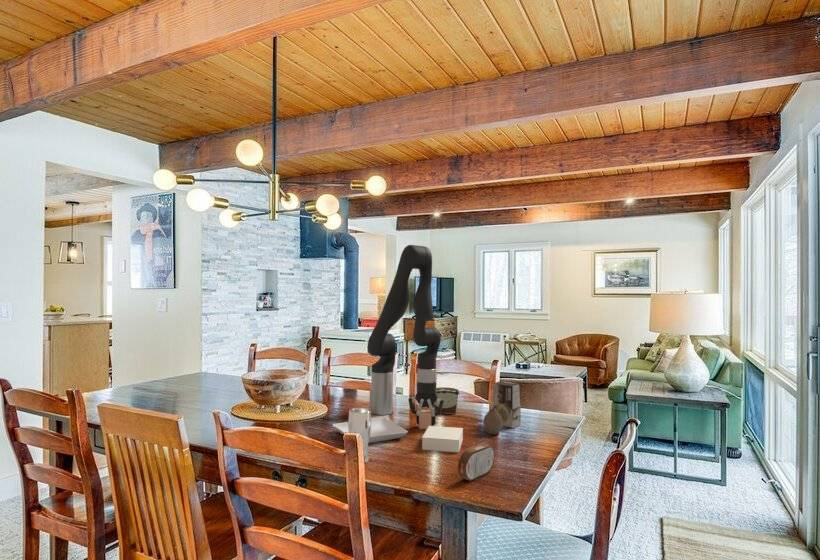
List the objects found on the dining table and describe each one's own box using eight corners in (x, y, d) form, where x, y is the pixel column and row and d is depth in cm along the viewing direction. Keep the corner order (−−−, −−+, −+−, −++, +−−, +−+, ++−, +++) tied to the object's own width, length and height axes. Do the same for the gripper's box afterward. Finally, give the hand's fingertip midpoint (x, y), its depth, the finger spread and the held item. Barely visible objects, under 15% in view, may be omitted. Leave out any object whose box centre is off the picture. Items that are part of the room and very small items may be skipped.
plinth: (422, 449, 160) (422, 437, 160) (428, 437, 174) (428, 425, 174) (458, 452, 158) (459, 440, 158) (462, 439, 172) (462, 428, 172)
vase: (503, 431, 183) (503, 407, 183) (500, 436, 176) (501, 412, 176) (485, 429, 185) (485, 406, 185) (481, 434, 178) (481, 410, 178)
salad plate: (351, 449, 161) (352, 438, 161) (331, 432, 180) (331, 422, 180) (409, 440, 171) (409, 430, 171) (383, 425, 189) (384, 416, 189)
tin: (487, 468, 144) (487, 439, 145) (496, 471, 142) (497, 441, 142) (456, 482, 133) (456, 451, 134) (465, 485, 131) (466, 453, 131)
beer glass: (348, 456, 153) (349, 407, 153) (370, 455, 154) (371, 407, 154) (347, 464, 146) (348, 413, 146) (370, 463, 147) (371, 413, 147)
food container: (459, 410, 213) (459, 387, 214) (459, 414, 207) (459, 390, 208) (431, 409, 215) (431, 386, 215) (430, 413, 209) (430, 389, 209)
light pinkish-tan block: (418, 428, 184) (419, 412, 185) (421, 425, 189) (421, 409, 189) (430, 429, 184) (431, 413, 184) (432, 426, 188) (432, 410, 188)
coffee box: (521, 425, 191) (521, 383, 192) (512, 428, 187) (512, 385, 187) (501, 420, 198) (501, 380, 198) (492, 423, 193) (492, 382, 193)
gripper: (406, 381, 184) (405, 426, 184) (444, 382, 182) (443, 429, 181) (410, 377, 192) (409, 421, 191) (446, 379, 189) (445, 424, 189)
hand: (425, 425), depth 186 cm, fingers closed on light pinkish-tan block, 4 cm apart
